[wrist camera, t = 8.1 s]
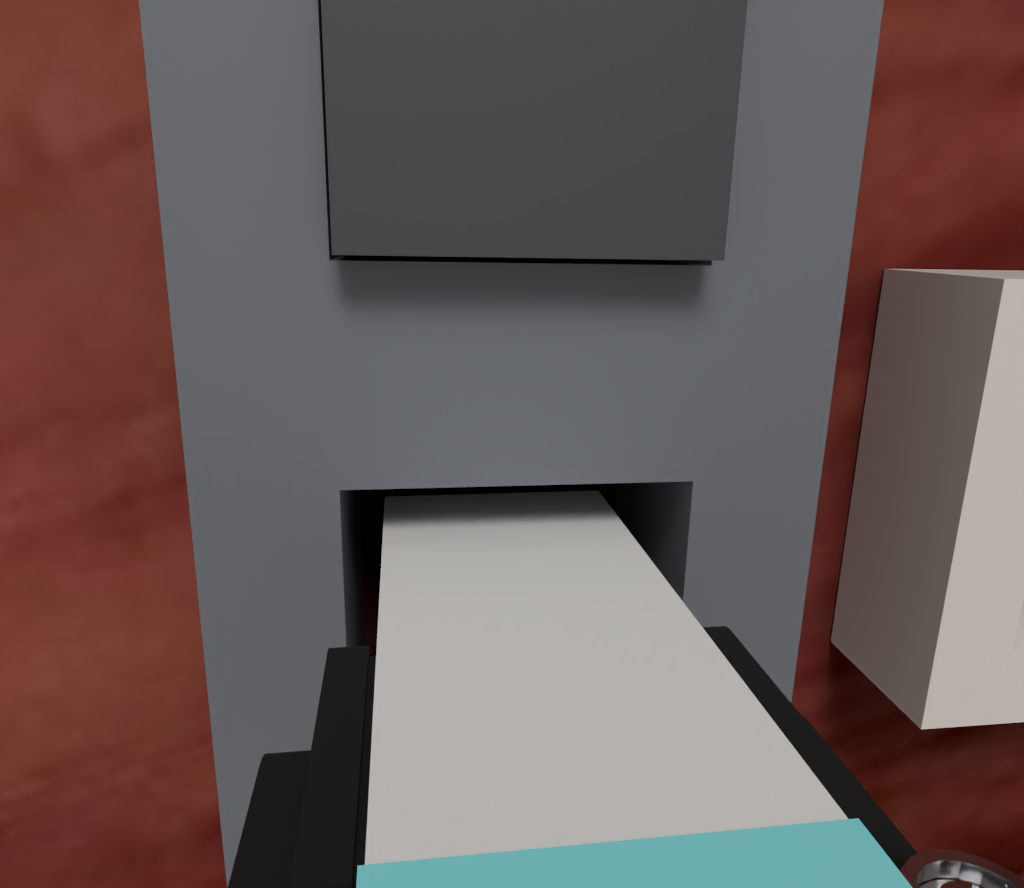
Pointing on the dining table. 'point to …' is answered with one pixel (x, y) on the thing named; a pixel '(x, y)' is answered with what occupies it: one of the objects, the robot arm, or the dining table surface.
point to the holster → (941, 501)
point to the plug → (573, 719)
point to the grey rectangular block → (497, 296)
